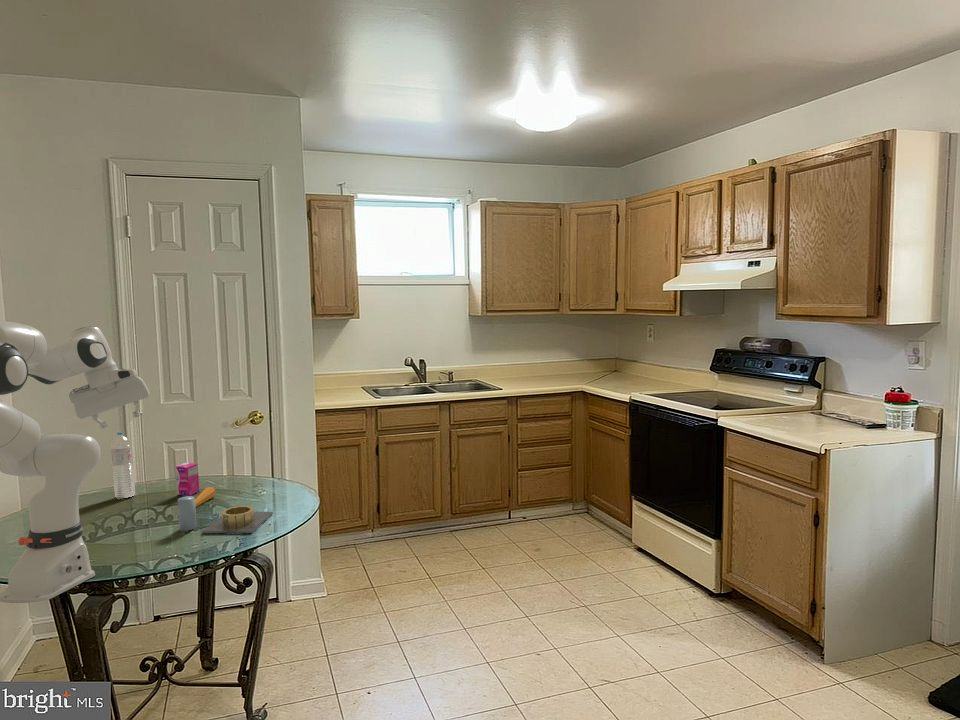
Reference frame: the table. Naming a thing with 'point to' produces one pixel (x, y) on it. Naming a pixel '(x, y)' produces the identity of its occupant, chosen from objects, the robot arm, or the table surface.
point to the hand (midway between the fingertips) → (121, 422)
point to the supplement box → (187, 479)
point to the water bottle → (122, 467)
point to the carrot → (205, 496)
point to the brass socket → (238, 516)
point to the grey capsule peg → (187, 513)
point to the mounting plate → (248, 528)
